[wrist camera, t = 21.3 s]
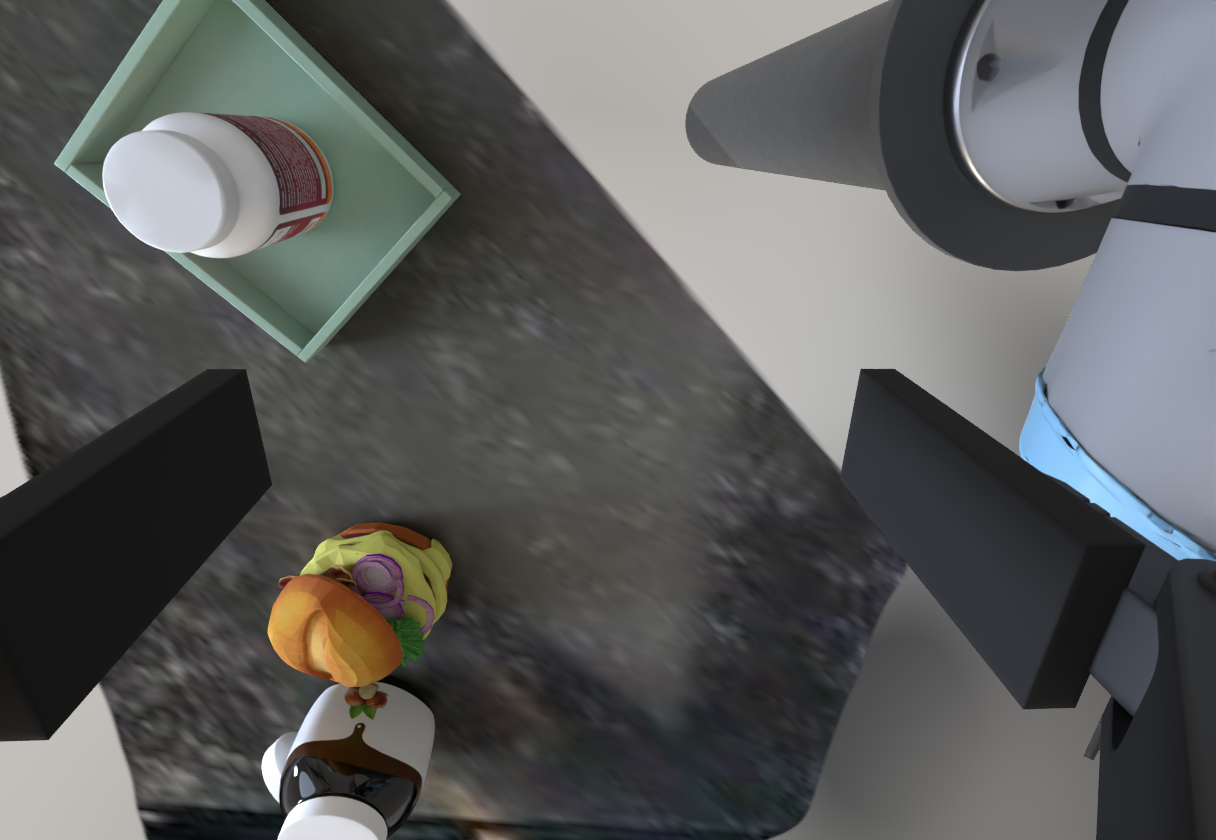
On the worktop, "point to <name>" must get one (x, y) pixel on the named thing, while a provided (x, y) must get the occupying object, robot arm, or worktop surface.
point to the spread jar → (352, 763)
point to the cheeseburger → (361, 604)
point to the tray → (309, 99)
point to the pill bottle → (217, 183)
